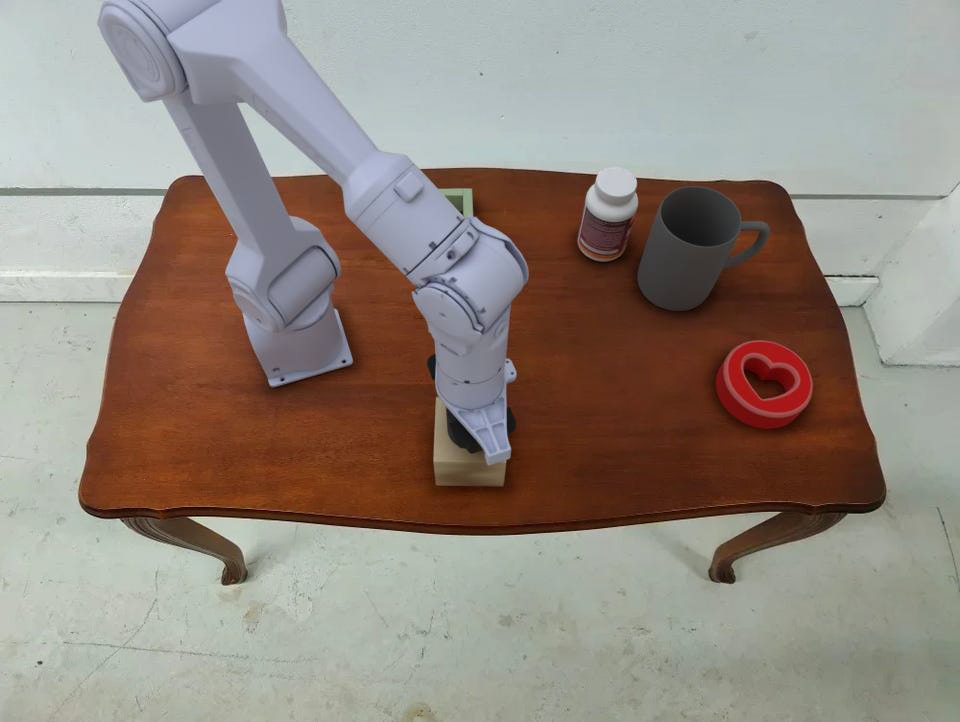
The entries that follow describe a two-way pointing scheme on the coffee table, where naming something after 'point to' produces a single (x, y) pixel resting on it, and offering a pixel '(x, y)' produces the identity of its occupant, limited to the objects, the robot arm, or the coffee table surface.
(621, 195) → the pill bottle
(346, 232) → the coffee table surface
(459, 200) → the holder
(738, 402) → the decorative ornament
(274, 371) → the robot arm
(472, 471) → the stand
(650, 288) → the mug
